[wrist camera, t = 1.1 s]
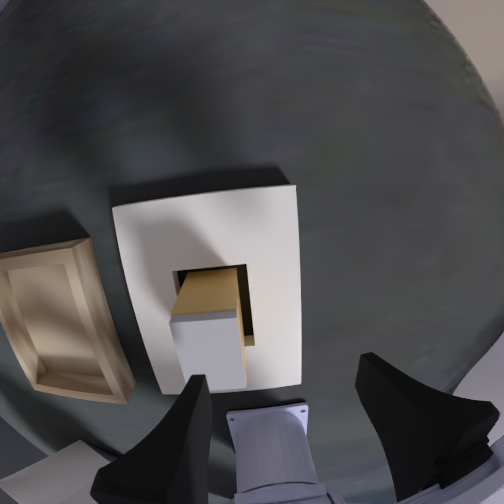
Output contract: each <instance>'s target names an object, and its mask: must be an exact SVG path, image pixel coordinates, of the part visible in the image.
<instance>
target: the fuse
mask: <svg viewBox="0 0 504 504" xmlns="http://www.w3.org/2000/svg"><path fill="white" fill-rule="evenodd" d="M169 326H170V330H171V333H172V337H173V341H174V345H175V348H176V352H177V355H178V359H179V362H180V366H181V369H182V372H183V376H184V379H185V382H186V384H187V382H188V380H189V378H190V376H191V375H195V374H206V379H207V383H208V387H209V391H214V390H230V389H242V388H247V385H246V380H247V372H246V358H245V344H244V330H243V321H242V313H241V304H240V296H239V287H238V279H237V270H236V268H229V269H219V270H209V271H199V272H189V273H188V274H187V276H186V278H185V281H184V283H183V285H182V287H181V290H180V292H179V295H178V297H177V299H176V302H175V304H174V306H173V309H172V311H171V319H170V321H169Z"/></svg>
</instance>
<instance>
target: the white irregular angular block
mask: <svg viewBox="0 0 504 504" xmlns="http://www.w3.org/2000/svg"><path fill="white" fill-rule="evenodd" d="M118 458H119V457H116V456H114V455H112V454H109V453H107V452H105V451H103V450H101V449H98V448H96V447H94V446H92V445H90V444H88V443H86V442H84V441H82V440H78V441H76V442H74V443H73V444H71V445H69V446H67V447H65V448H64V449H62V450H60V451H58V452H56V453H54V454H52V455H51V456H49V457H47V458H45V459H43V460H41V461H39V462H37V463H35V464H33V465H31V466H29V467H27V468H25V469H23V470H21V471H19V472H17V473H14V474H13V475H10V476H8V477H6V478H4V479H1V480H0V488H1V489H2V490H4V491H5V492H6V493H7V494H8V495H9V496H11V497H12V498H13V499H14V500H15V501H17V502H18V503H19V504H98V503H97V502H96V501H95V500H94V499H93V498H92V497H91V495H90V490H91V487H92V484H93V481H94V478H95V475H96V473H97V471H98V469H99V468H101V467H103V466H105V465H107V464H109V463H111V462H113V461H114V460H116V459H118Z"/></svg>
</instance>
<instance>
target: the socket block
mask: <svg viewBox="0 0 504 504" xmlns="http://www.w3.org/2000/svg"><path fill="white" fill-rule="evenodd" d="M112 211H113V217H114V223H115V229H116V235H117V240H118V245H119V250H120V255H121V260H122V264H123V269H124V273H125V277H126V282H127V286H128V290H129V293H130V297H131V301H132V305H133V308H134V312H135V315H136V319H137V322H138V326H139V329H140V332H141V335H142V339H143V342H144V345H145V348H146V351H147V354H148V357H149V359H150V362H151V365H152V368H153V371H154V373H155V376H156V379H157V381H158V384H159V387H160V389H161V392H162V394H181V392H182V390H183V389H184V387H185V385H186V382H185V379H184V376H183V372H182V369H181V366H180V362H179V359H178V355H177V352H176V348H175V345H174V341H173V337H172V333H171V330H170V326H169V321H170V319H171V311H172V309H173V306H174V304H175V302H176V299H177V297H178V295H179V292H180V290H181V288H180V283H179V277H178V272H177V271H178V270H189V269H199V268H209V267H219V266H229V265H238V264H247V274H248V284H249V294H250V303H251V313H252V322H253V332H254V335H248V336H244V344H245V358H246V372H247V380H246V385H247V388H242V389H230V390H214V391H209V392H210V393H225V392H238V391H249V390H259V389H268V388H276V387H283V386H290V385H296V384H301V284H300V255H299V233H298V215H297V199H296V185H291V184H289V185H275V186H263V187H252V188H241V189H231V190H222V191H213V192H205V193H197V194H189V195H181V196H174V197H167V198H160V199H154V200H147V201H141V202H135V203H129V204H123V205H119V206H116V207H113V208H112Z"/></svg>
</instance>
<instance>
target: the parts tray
mask: <svg viewBox="0 0 504 504" xmlns="http://www.w3.org/2000/svg"><path fill="white" fill-rule="evenodd" d="M0 321H1V324H2V326H3V329H4V331H5V333H6V336H7V338H8V340H9V342H10V345H11V347H12V349H13V351H14V353H15V355H16V357H17V359H18V361H19V363H20V365H21V367H22V369H23V370H24V372H25V374H26V376H27V378H28V379H29V381H30V383H31V385H32V386H33V388H34V390H37V391H42V392H46V393H51V394H56V395H61V396H67V397H73V398H79V399H85V400H93V401H101V402H109V403H120V404H128V403H129V400H130V397H131V395H132V392H133V390H134V387H135V385H136V381H135V379H134V376H133V374H132V372H131V369H130V367H129V364H128V362H127V359H126V356H125V354H124V351H123V348H122V346H121V343H120V340H119V337H118V335H117V332H116V329H115V326H114V323H113V320H112V317H111V313H110V310H109V307H108V304H107V300H106V297H105V293H104V290H103V286H102V282H101V278H100V274H99V270H98V266H97V262H96V258H95V253H94V249H93V244H92V239H91V237H90V238H84V239H77V240H71V241H65V242H59V243H53V244H48V245H42V246H36V247H31V248H26V249H20V250H15V251H10V252H5V253H0Z"/></svg>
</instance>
